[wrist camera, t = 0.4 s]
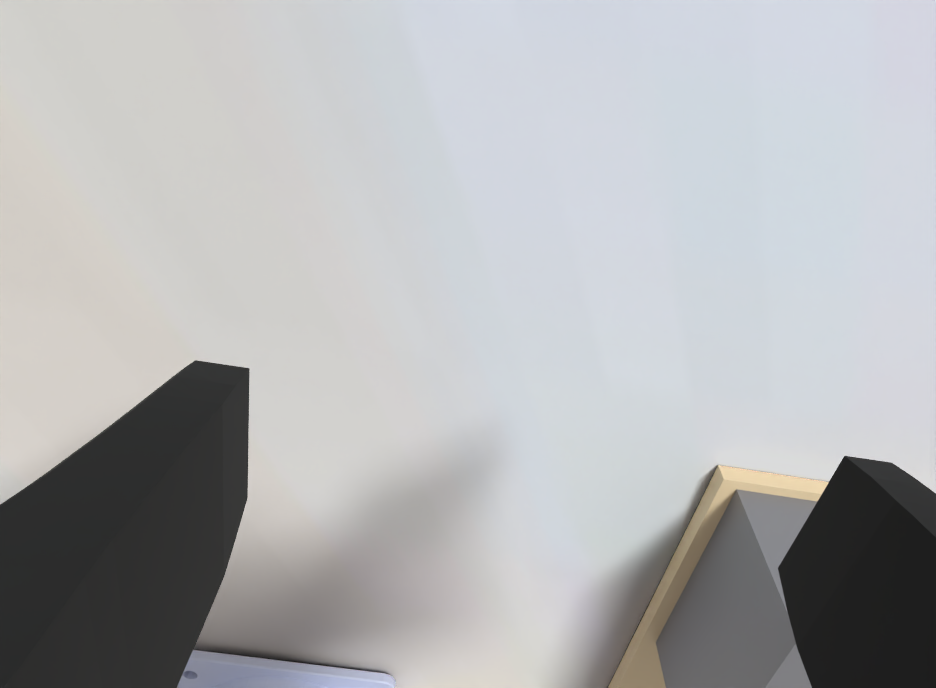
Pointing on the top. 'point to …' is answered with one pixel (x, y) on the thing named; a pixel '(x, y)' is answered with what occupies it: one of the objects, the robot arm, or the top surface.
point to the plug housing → (738, 603)
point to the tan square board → (640, 667)
